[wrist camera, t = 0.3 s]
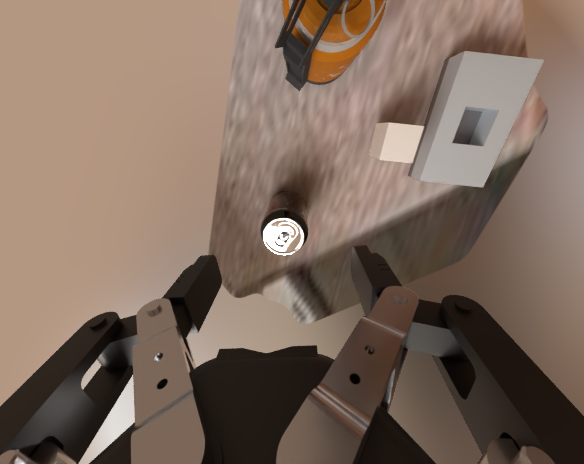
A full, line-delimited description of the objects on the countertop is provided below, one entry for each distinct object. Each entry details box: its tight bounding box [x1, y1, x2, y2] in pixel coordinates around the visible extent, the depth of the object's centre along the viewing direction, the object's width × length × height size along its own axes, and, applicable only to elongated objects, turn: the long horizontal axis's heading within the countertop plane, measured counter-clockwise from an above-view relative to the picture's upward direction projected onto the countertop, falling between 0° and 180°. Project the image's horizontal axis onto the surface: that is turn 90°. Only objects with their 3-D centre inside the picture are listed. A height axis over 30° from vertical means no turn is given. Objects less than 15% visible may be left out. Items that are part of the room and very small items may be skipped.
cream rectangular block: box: [368, 122, 424, 163], centre depth 32 cm, size 4×4×8 cm
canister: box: [275, 0, 386, 91], centre depth 21 cm, size 9×11×20 cm
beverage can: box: [261, 192, 308, 255], centre depth 35 cm, size 7×7×12 cm
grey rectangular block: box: [408, 51, 544, 187], centre depth 32 cm, size 16×10×4 cm, turn 175°
